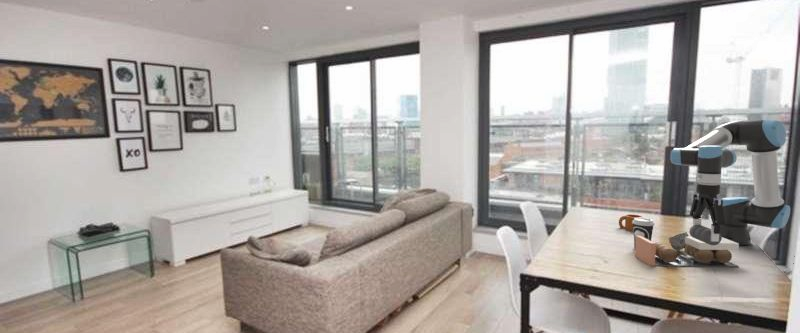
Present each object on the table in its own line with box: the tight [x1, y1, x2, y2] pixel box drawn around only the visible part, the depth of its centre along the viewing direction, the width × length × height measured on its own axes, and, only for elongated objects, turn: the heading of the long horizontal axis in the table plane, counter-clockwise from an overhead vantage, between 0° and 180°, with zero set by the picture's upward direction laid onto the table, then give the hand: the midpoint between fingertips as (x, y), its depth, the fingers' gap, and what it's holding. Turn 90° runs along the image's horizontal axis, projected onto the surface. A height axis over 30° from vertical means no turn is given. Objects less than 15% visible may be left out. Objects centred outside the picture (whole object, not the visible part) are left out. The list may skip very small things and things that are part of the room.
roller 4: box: [710, 250, 733, 263], centre depth 176 cm, size 10×6×6 cm, turn 175°
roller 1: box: [655, 242, 678, 262], centre depth 178 cm, size 10×6×6 cm, turn 175°
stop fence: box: [634, 235, 657, 267], centre depth 179 cm, size 2×13×10 cm, turn 175°
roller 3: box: [683, 244, 714, 263], centre depth 177 cm, size 10×6×6 cm, turn 175°
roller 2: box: [689, 224, 722, 245], centre depth 162 cm, size 10×6×6 cm, turn 175°
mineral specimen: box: [668, 232, 689, 252], centre depth 192 cm, size 10×8×10 cm
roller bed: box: [654, 254, 739, 268], centre depth 178 cm, size 34×14×2 cm, turn 85°
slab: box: [685, 236, 740, 251], centre depth 176 cm, size 16×10×3 cm, turn 85°
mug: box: [618, 213, 644, 232], centre depth 231 cm, size 9×12×9 cm
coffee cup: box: [632, 217, 655, 249], centre depth 196 cm, size 10×10×15 cm
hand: (705, 237), depth 162 cm, fingers closed on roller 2, 10 cm apart
